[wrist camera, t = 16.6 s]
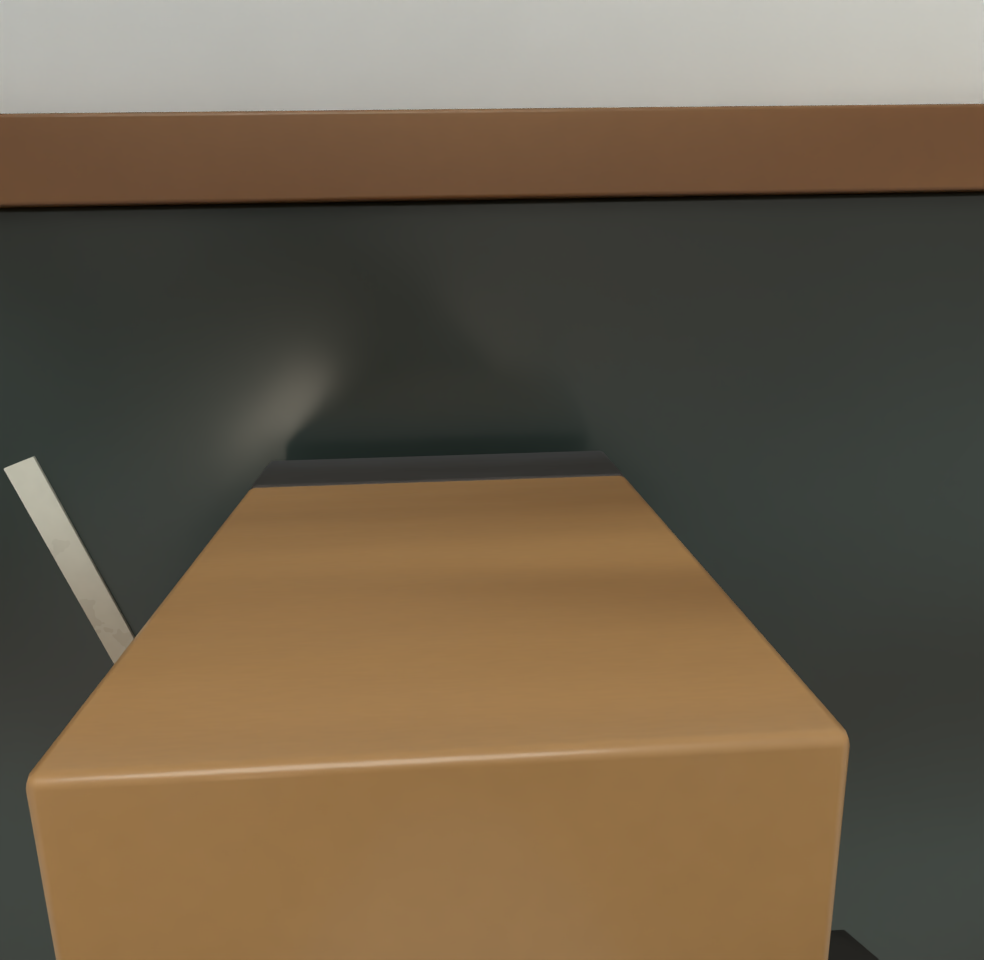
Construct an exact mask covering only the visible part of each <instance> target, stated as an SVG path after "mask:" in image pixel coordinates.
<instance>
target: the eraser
mask: <svg viewBox="0 0 984 960" xmlns="http://www.w3.org/2000/svg"><path fill="white" fill-rule="evenodd" d="M849 748H850V743H849V738H848V735H847V732H846V730H845V729H844V728H843V727H842V725H841V724H840V723H839V722H838V721H837V720H836V719H835V717H834V716H833V715H832V714H831V713H830V712H829V711H828V709H827V708H826V707H825V706H824V705H823V704H822V703H821V701H820V700H819V699H818V698H817V697H816V696H815V695H814V693H813V692H812V691H811V690H810V689H809V688H808V686H807V685H806V684H805V683H804V682H803V681H802V680H801V678H800V677H799V676H798V675H797V674H796V673H795V672H794V670H793V669H792V668H791V667H790V666H789V665H788V664H787V662H786V661H785V660H784V659H783V658H782V657H781V656H780V654H779V653H778V652H777V651H776V650H775V649H774V648H773V646H772V645H771V644H770V643H769V642H768V641H767V640H766V638H765V637H764V636H763V635H762V634H761V633H760V632H759V630H758V629H757V628H756V627H755V626H754V625H753V624H752V622H751V621H750V620H749V619H748V618H747V617H746V616H745V614H744V613H743V612H742V611H741V610H740V609H739V608H738V606H737V605H736V604H735V603H734V602H733V601H732V600H731V598H730V597H729V596H728V595H727V594H726V593H725V592H724V590H723V589H722V588H721V587H720V586H719V585H718V584H717V582H716V581H715V580H714V579H713V578H712V577H711V576H710V574H709V573H708V572H707V571H706V570H705V569H704V568H703V566H702V565H701V564H700V563H699V562H698V561H697V560H696V558H695V557H694V556H693V555H692V554H691V553H690V552H689V550H688V549H687V548H686V547H685V546H684V545H683V544H682V542H681V541H680V540H679V539H678V538H677V537H676V536H675V534H674V533H673V532H672V531H671V530H670V529H669V528H668V526H667V525H666V524H665V523H664V522H663V521H662V519H661V518H660V517H659V516H658V515H657V514H656V513H655V511H654V510H653V509H652V508H651V507H650V506H649V505H648V503H647V502H646V501H645V500H644V499H643V498H642V497H641V495H640V494H639V493H638V492H637V491H636V490H635V489H634V487H633V486H632V485H631V484H630V483H629V482H628V481H627V479H626V478H625V477H624V476H623V474H622V473H621V472H620V471H619V469H618V468H617V467H616V466H615V465H614V464H613V463H612V461H611V460H610V459H609V458H608V457H607V456H606V455H605V453H604V452H602V451H571V452H539V453H508V454H476V455H445V456H413V457H381V458H350V459H318V460H287V461H272V462H270V463H269V465H268V466H267V467H266V468H265V470H264V471H263V472H262V474H261V475H260V476H259V477H258V479H257V480H256V481H255V483H254V484H253V485H252V486H251V489H250V490H249V491H248V493H247V494H246V495H245V496H244V498H243V499H242V500H241V502H240V503H239V504H238V505H237V507H236V508H235V509H234V511H233V512H232V513H231V514H230V516H229V517H228V518H227V520H226V521H225V522H224V523H223V525H222V526H221V527H220V529H219V530H218V531H217V532H216V534H215V535H214V536H213V538H212V539H211V540H210V542H209V543H208V544H207V545H206V547H205V548H204V549H203V551H202V552H201V553H200V554H199V556H198V557H197V558H196V560H195V561H194V562H193V563H192V565H191V566H190V567H189V569H188V570H187V571H186V572H185V574H184V575H183V576H182V578H181V579H180V580H179V581H178V583H177V584H176V585H175V587H174V588H173V589H172V590H171V592H170V593H169V594H168V596H167V597H166V598H165V599H164V601H163V602H162V603H161V605H160V606H159V607H158V609H157V610H156V611H155V612H154V614H153V615H152V616H151V618H150V619H149V620H148V621H147V623H146V624H145V625H144V627H143V628H142V629H141V630H140V632H139V633H138V634H137V636H136V637H135V638H134V639H133V641H132V642H131V643H130V645H129V646H128V647H127V648H126V650H125V651H124V652H123V654H122V655H121V656H120V657H119V659H118V660H117V661H116V663H115V664H114V665H113V666H112V668H111V669H110V670H109V672H108V673H107V674H106V675H105V677H104V678H103V679H102V681H101V682H100V683H99V685H98V686H97V687H96V688H95V690H94V691H93V692H92V694H91V695H90V696H89V697H88V699H87V700H86V701H85V703H84V704H83V705H82V706H81V708H80V709H79V710H78V712H77V713H76V714H75V715H74V717H73V718H72V719H71V721H70V722H69V723H68V724H67V726H66V727H65V728H64V730H63V731H62V732H61V733H60V735H59V736H58V737H57V739H56V740H55V741H54V742H53V744H52V745H51V746H50V748H49V749H48V750H47V752H46V753H45V754H44V755H43V757H42V758H41V759H40V761H39V762H38V763H37V764H36V766H35V767H34V768H33V770H32V771H31V772H30V773H29V776H28V779H27V783H26V793H27V799H28V805H29V810H30V816H31V821H32V827H33V833H34V838H35V844H36V850H37V855H38V861H39V866H40V872H41V878H42V883H43V889H44V895H45V900H46V906H47V911H48V917H49V923H50V928H51V934H52V940H53V945H54V951H55V956H56V960H828V955H829V945H830V935H831V925H832V915H833V905H834V896H835V886H836V876H837V866H838V856H839V846H840V836H841V827H842V817H843V807H844V797H845V787H846V777H847V767H848V758H849Z"/></svg>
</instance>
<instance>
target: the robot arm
mask: <svg viewBox="0 0 984 960" xmlns="http://www.w3.org/2000/svg"><path fill="white" fill-rule="evenodd" d="M828 960H879V959H878V958H877V957H876V956H874V955H873V954H872V953H871V952H870V951H869V950H867V949H866V948H865V947H864V946H863V945H862V944H860V943H859V942H858V941H857V940H856V939H855V938H853V937H852V936H851V935H850V934H849V933H848V932H846V931H845V930H831V935H830V945H829V955H828Z"/></svg>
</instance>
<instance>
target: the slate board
mask: <svg viewBox="0 0 984 960" xmlns="http://www.w3.org/2000/svg"><path fill="white" fill-rule="evenodd" d="M571 451H602V452H604V453H605V455H606V456H607V457H608V458H609V459H610V460H611V461H612V463H613V464H614V465H615V466H616V467H617V468H618V469H619V471H620V472H621V473H622V474H623V476H624V477H625V478H626V479H627V481H628V482H629V483H630V484H631V485H632V486H633V487H634V489H635V490H636V491H637V492H638V493H639V494H640V495H641V497H642V498H643V499H644V500H645V501H646V502H647V503H648V505H649V506H650V507H651V508H652V509H653V510H654V511H655V513H656V514H657V515H658V516H659V517H660V518H661V519H662V521H663V522H664V523H665V524H666V525H667V526H668V528H669V529H670V530H671V531H672V532H673V533H674V534H675V536H676V537H677V538H678V539H679V540H680V541H681V542H682V544H683V545H684V546H685V547H686V548H687V549H688V550H689V552H690V553H691V554H692V555H693V556H694V557H695V558H696V560H697V561H698V562H699V563H700V564H701V565H702V566H703V568H704V569H705V570H706V571H707V572H708V573H709V574H710V576H711V577H712V578H713V579H714V580H715V581H716V582H717V584H718V585H719V586H720V587H721V588H722V589H723V590H724V592H725V593H726V594H727V595H728V596H729V597H730V598H731V600H732V601H733V602H734V603H735V604H736V605H737V606H738V608H739V609H740V610H741V611H742V612H743V613H744V614H745V616H746V617H747V618H748V619H749V620H750V621H751V622H752V624H753V625H754V626H755V627H756V628H757V629H758V630H759V632H760V633H761V634H762V635H763V636H764V637H765V638H766V640H767V641H768V642H769V643H770V644H771V645H772V646H773V648H774V649H775V650H776V651H777V652H778V653H779V654H780V656H781V657H782V658H783V659H784V660H785V661H786V662H787V664H788V665H789V666H790V667H791V668H792V669H793V670H794V672H795V673H796V674H797V675H798V676H799V677H800V678H801V680H802V681H803V682H804V683H805V684H806V685H807V686H808V688H809V689H810V690H811V691H812V692H813V693H814V695H815V696H816V697H817V698H818V699H819V700H820V701H821V703H822V704H823V705H824V706H825V707H826V708H827V709H828V711H829V712H830V713H831V714H832V715H833V716H834V717H835V719H836V720H837V721H838V722H839V723H840V724H841V725H842V727H843V728H844V729H845V730H846V732H847V735H848V738H849V743H850V748H849V758H848V767H847V777H846V787H845V797H844V807H843V817H842V827H841V836H840V846H839V856H838V866H837V876H836V886H835V896H834V905H833V915H832V925H831V930H845V931H846V932H848V933H849V934H850V935H851V936H852V937H853V938H855V939H856V940H857V941H858V942H859V943H860V944H862V945H863V946H864V947H865V948H866V949H867V950H869V951H870V952H871V953H872V954H873V955H874V956H876V957H877V958H878V959H879V960H984V104H920V105H820V106H721V107H622V108H522V109H423V110H324V111H224V112H125V113H26V114H0V960H56V956H55V951H54V945H53V940H52V934H51V928H50V923H49V917H48V911H47V906H46V900H45V895H44V889H43V883H42V878H41V872H40V866H39V861H38V855H37V850H36V844H35V838H34V833H33V827H32V821H31V816H30V810H29V805H28V799H27V793H26V783H27V779H28V776H29V773H30V772H31V771H32V770H33V768H34V767H35V766H36V764H37V763H38V762H39V761H40V759H41V758H42V757H43V755H44V754H45V753H46V752H47V750H48V749H49V748H50V746H51V745H52V744H53V742H54V741H55V740H56V739H57V737H58V736H59V735H60V733H61V732H62V731H63V730H64V728H65V727H66V726H67V724H68V723H69V722H70V721H71V719H72V718H73V717H74V715H75V714H76V713H77V712H78V710H79V709H80V708H81V706H82V705H83V704H84V703H85V701H86V700H87V699H88V697H89V696H90V695H91V694H92V692H93V691H94V690H95V688H96V687H97V686H98V685H99V683H100V682H101V681H102V679H103V678H104V677H105V675H106V674H107V673H108V672H109V670H110V669H111V668H112V666H113V665H114V664H115V663H116V661H117V660H118V659H119V657H120V656H121V655H122V654H123V652H124V651H125V650H126V648H127V647H128V646H129V645H130V643H131V642H132V641H133V639H134V638H135V637H136V636H137V634H138V633H139V632H140V630H141V629H142V628H143V627H144V625H145V624H146V623H147V621H148V620H149V619H150V618H151V616H152V615H153V614H154V612H155V611H156V610H157V609H158V607H159V606H160V605H161V603H162V602H163V601H164V599H165V598H166V597H167V596H168V594H169V593H170V592H171V590H172V589H173V588H174V587H175V585H176V584H177V583H178V581H179V580H180V579H181V578H182V576H183V575H184V574H185V572H186V571H187V570H188V569H189V567H190V566H191V565H192V563H193V562H194V561H195V560H196V558H197V557H198V556H199V554H200V553H201V552H202V551H203V549H204V548H205V547H206V545H207V544H208V543H209V542H210V540H211V539H212V538H213V536H214V535H215V534H216V532H217V531H218V530H219V529H220V527H221V526H222V525H223V523H224V522H225V521H226V520H227V518H228V517H229V516H230V514H231V513H232V512H233V511H234V509H235V508H236V507H237V505H238V504H239V503H240V502H241V500H242V499H243V498H244V496H245V495H246V494H247V493H248V491H249V490H250V489H251V486H252V485H253V484H254V483H255V481H256V480H257V479H258V477H259V476H260V475H261V474H262V472H263V471H264V470H265V468H266V467H267V466H268V465H269V463H270V462H272V461H287V460H318V459H350V458H381V457H413V456H445V455H476V454H508V453H539V452H571Z"/></svg>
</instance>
